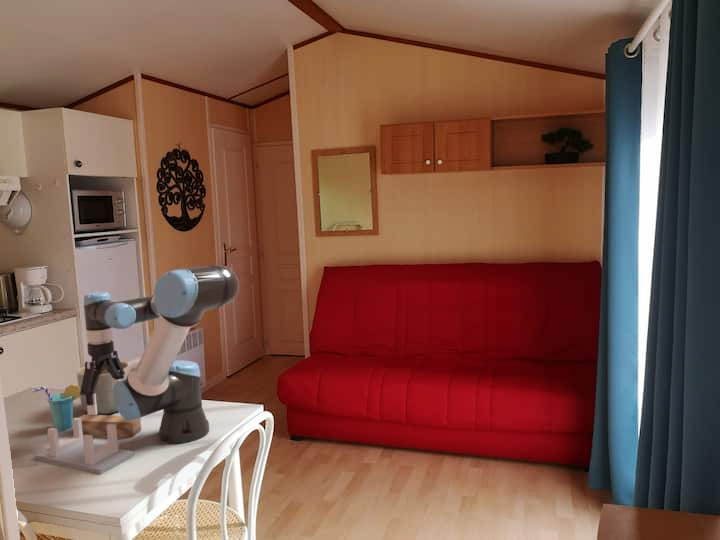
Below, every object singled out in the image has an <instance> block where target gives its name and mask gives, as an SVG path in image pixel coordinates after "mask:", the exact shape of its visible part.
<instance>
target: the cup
mask: <svg viewBox="0 0 720 540" xmlns="http://www.w3.org/2000/svg"><path fill="white" fill-rule="evenodd" d="M42 390H44V391H45V393H46V395H47V396H48V398H47V399H46V400H47V403H48V404H49V409H50V414H51V419H52V423H53V428H55V429H57V432H63V431H68V430H70V429H72V428H73V423H72V419H73V418H74V416H73V415H74V401H75V400H77V399H78V398H79V399H80V391H81V390H80V388H79V386H78V385H75V384H70V385H68V386H66V387H65V389H64V392H61V393H56V394H53V395H52V394H51V392H50V391H49V389H48V388H47V387H45V386H41V387H38V388H34V389H32V390H31V391H32V393H36V392H39V391H42Z"/></svg>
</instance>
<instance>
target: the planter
mask: <svg viewBox="0 0 720 540" xmlns="http://www.w3.org/2000/svg"><path fill="white" fill-rule="evenodd" d="M120 363H121V365H122V367H123V370H124V372H125V374H124V378H123V379H121V381H124V380H126V378H127V376H128V374H129V371H130V365H129V363H128V362H125V361H120ZM94 371H96V370H94ZM84 372H85V366H82V367H80V368H78V369H77V370H76V379H77V386H79V388H80V390H81V386H82V381H83V376H84ZM112 379H115V378H113V377H112V376H111V375H110V373H109V372H108V371H107V370H106V369H105V370H104V371H103V372H102V374H101V375H100V376H99V379H98V382H97V385H96V388H95V391H94V394H96V404H97V415H109V414H114V413H116V412H118V410H117V408H116V406H115V403H114V399H113V391H112ZM84 391H85V390H84ZM90 391H91V390H90ZM79 400H80V401H79V402H80V404H81V407H82V408H83V410H85V411H86V412H87V413H88V411H87V404H86V395H81V394H80V396H79Z"/></svg>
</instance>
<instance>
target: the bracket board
mask: <svg viewBox="0 0 720 540" xmlns="http://www.w3.org/2000/svg"><path fill="white" fill-rule="evenodd" d="M72 423H73V426H72V431H73V433H72V434H73V436H72V437H70V438H67V439H65V440H62V441H61V442H59V435H58V434H59V433H58V432H59V431H57V429H55V428H54V427H50V428H48V429H47V437H48V445H49V446H48V447H49V448H47V449H46V450H43V451H40V452H38V453H37V454H34V458H35V459H34V460H37V461H43V462H46V463H51V464H55V465H60V466H63V467H68V468H73V469H77V470H81V471H86V472H91V473H93V474H94V473H95V474H98V475H102V474H104V473H106V472H107V471H109V470H111V469H113V468H115V467H116V466H118V465H120V464H123V463H124V462H126V461H127V460H129V459H131V458H132V457H134V456H135V451H133V450H127V449H121V448H119V442H118V436H117V431H116V425H114V424H108V425H107V436H106V437H107V443H106V444H104V445H102V444H98V443H94V439H93V437H94V435H83V432H82V422H81V418H79V417H73V419H72Z"/></svg>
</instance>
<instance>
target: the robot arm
mask: <svg viewBox="0 0 720 540" xmlns="http://www.w3.org/2000/svg"><path fill="white" fill-rule="evenodd" d="M239 291H240V281H239V278H238V276H237V274H236V273H235V271H234V270H232V269H231V268H229V267H228V266H226V265H222V264H210V265H204V266H197V267H190V268H189V267H188V268H178V269H177V268H176V269H174V270H172V271H167V272H165V273H163V274H161V276H160V277H159V278H158V279H157V280H156V283H155V285H154V290H153V294H151V295H149V296H144V297H143V296H142V297H138V298H133V299H126V300H121V301H112V299H111V296H110V293H109V292H107V291H93V292H88V293H86V294H85V295H84V296H83V311H84V320H85V321H84V322H85V331H86V341H87V342H88V343H87V344H86V346H87V354H88V355H89V356H90V357H91V361H85V363H84V367H85V372H84V376H83V381H82V386H81V391H80V394H81V395H86V404H87V411H88V412H87V411H86V412H87V415H97V404H96V394H94V391H95V388H96V385H97V382H98V379H99V376H100V375H101V374H102V372H103V371H104V370H105V369H106V370H107V371H108V372H109V373H110V375H111V376H112V377H113V378H115V379H112V391H113V399H114V403H115V406H116V408H117V410H118V411H117V412H118V413H119V414H120V415H119V416H122V417H123V418H125V419H127V420H134V419H137V418H140V419H141V418H143V417H146V416H149V415H151V414H155V413H157V412H159V411H162V412H163V413H162V417H161V421H160V426H159V429H158V436H159V439H160V440H161V441H163V442H165V443H170V444H171V443H172V444H180V443H181V444H182V443H189V442H192V441H196V440H198V439H201V438H203V437H205V436H206V435H208V433H209V432H210V423H209V421H208V420H209V419H207V418H206V417H207V416H206V414H205V411H204V409H203V402H202V389H201V388H202V386H201V376H202V375H201V370H200V366H199V364H198V363H197V362H194V361H190V360H183V359H182V360H179V359H178V360H176V358H177V357H178V354H179V352H180V350H181V348H182V346H183V345H184V344H183V343H184V342H185V339H186V338H187V335H188V333H189V332H190V329H191V328H192V327H195V326H197V325H198V324H199V323H200V322H201V320H202V317H203V315H204V313H205V312H206V311H209V310H214V309H217V308H222V307H225V306H227V305H229V304H231V303H232V302H233V301H234V300H235V299H236V298H237V296H238V294H239ZM152 320H157V321H156V323H155V325H154V328H153V330H152V333H151V335H150V337H149V339H148V341H147V344H146V346H145V349H144V351H143V353H142V356H141V358H140V360H139V362H138V364H137V365H135V366H134V365H133V367H132V368H131V369H129V374H128V376H127V378H126V380H124V381H121V379H123V378H124V374H125V372H124V370H123V367H122V365H121V363H120V362H121V360H120V358H119V355H118V351H117V350H115V346H114V343H115V342H114V341H113V340H114V333H113V331H114V330H113V329H116V330H117V329H118V330H119V329H120V330H124V329H129V328H130V327H132V325H134V324H139V323H142V322H147V321H152ZM94 370H96V371H94ZM84 390H85V391H84ZM90 390H91V391H90Z"/></svg>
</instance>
